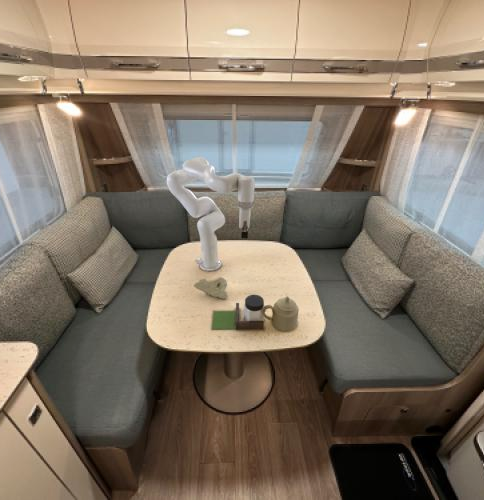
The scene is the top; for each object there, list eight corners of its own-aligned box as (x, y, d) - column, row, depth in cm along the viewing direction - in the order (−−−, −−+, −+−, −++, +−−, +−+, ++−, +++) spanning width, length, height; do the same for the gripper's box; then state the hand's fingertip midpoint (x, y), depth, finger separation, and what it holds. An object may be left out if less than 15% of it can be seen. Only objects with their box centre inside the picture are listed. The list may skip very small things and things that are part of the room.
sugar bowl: (277, 339, 111) (280, 313, 104) (260, 323, 119) (261, 298, 111) (301, 324, 119) (306, 298, 111) (284, 310, 127) (287, 285, 119)
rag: (211, 329, 117) (211, 328, 116) (213, 311, 126) (213, 311, 126) (234, 329, 117) (234, 328, 116) (234, 311, 126) (234, 310, 126)
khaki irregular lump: (233, 294, 140) (218, 270, 142) (235, 292, 133) (218, 267, 135) (208, 310, 136) (193, 285, 139) (208, 309, 129) (192, 283, 132)
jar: (257, 330, 116) (258, 310, 110) (241, 323, 119) (241, 303, 113) (266, 317, 122) (267, 297, 116) (250, 311, 126) (250, 291, 120)
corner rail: (235, 330, 116) (235, 323, 114) (236, 309, 127) (235, 302, 125) (263, 329, 116) (263, 323, 114) (261, 309, 127) (261, 302, 125)
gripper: (238, 197, 132) (237, 230, 142) (237, 209, 119) (236, 244, 129) (253, 198, 132) (251, 231, 142) (253, 209, 119) (252, 245, 129)
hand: (244, 237), depth 135 cm, fingers closed
